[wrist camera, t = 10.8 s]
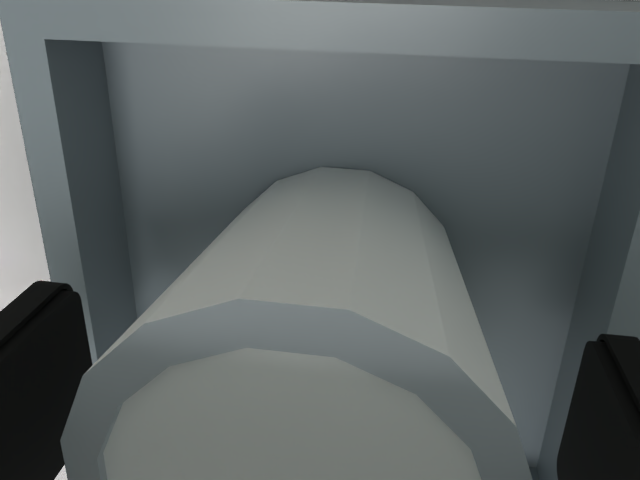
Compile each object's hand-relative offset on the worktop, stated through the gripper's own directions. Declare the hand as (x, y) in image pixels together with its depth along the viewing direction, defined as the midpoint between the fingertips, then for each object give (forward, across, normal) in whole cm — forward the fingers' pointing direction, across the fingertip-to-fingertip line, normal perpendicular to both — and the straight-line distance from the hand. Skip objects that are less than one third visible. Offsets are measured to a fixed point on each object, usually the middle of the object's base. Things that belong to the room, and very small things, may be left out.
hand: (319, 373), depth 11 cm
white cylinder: (+4, 0, 0) cm, 4 cm away
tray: (+5, 0, 0) cm, 5 cm away
